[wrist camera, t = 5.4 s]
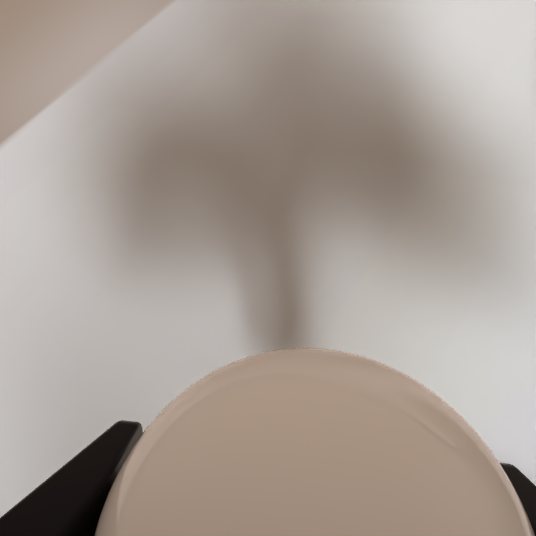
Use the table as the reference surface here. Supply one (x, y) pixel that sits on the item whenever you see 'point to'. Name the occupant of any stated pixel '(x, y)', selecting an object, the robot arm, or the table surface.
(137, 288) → the table surface
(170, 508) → the lightbulb
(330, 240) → the table surface
